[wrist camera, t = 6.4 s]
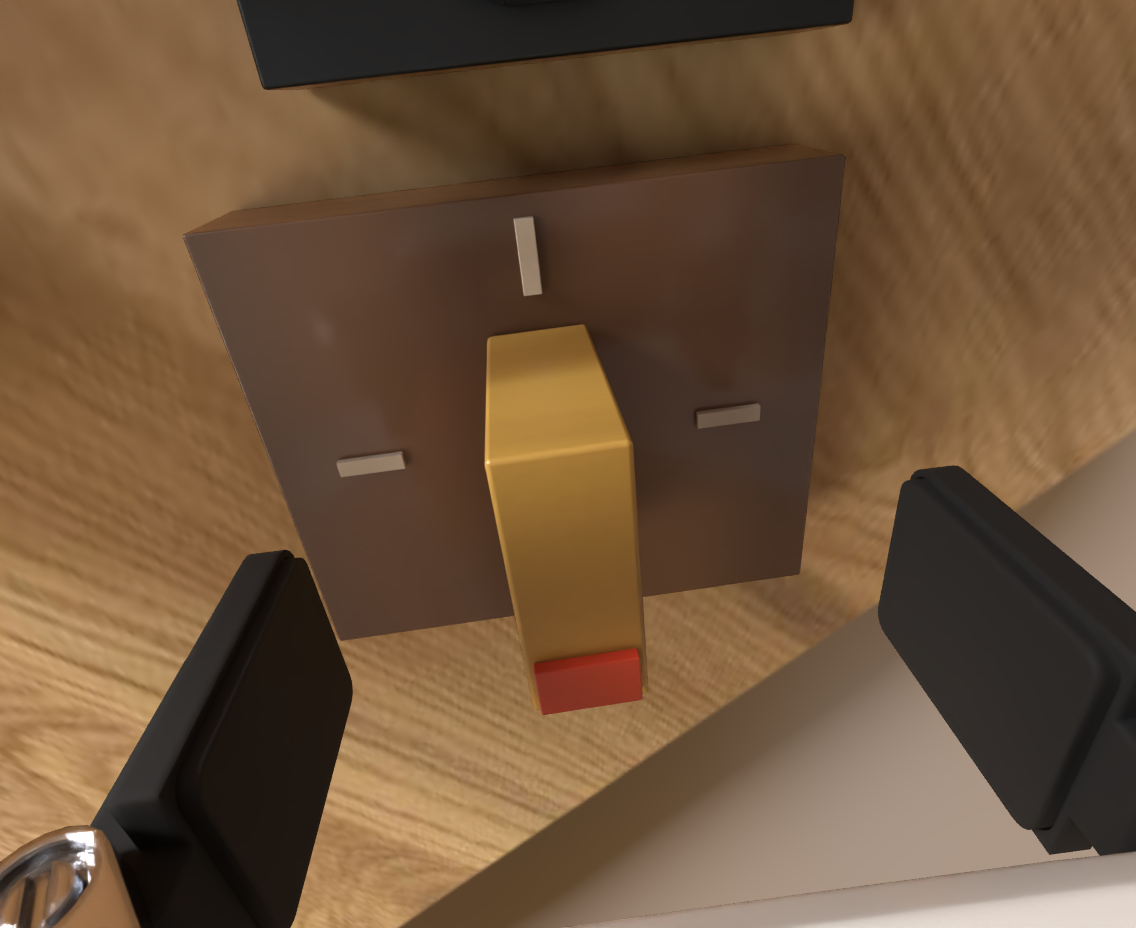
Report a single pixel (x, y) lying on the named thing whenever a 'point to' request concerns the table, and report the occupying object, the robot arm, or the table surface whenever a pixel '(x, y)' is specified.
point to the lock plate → (521, 304)
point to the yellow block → (566, 518)
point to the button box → (494, 32)
